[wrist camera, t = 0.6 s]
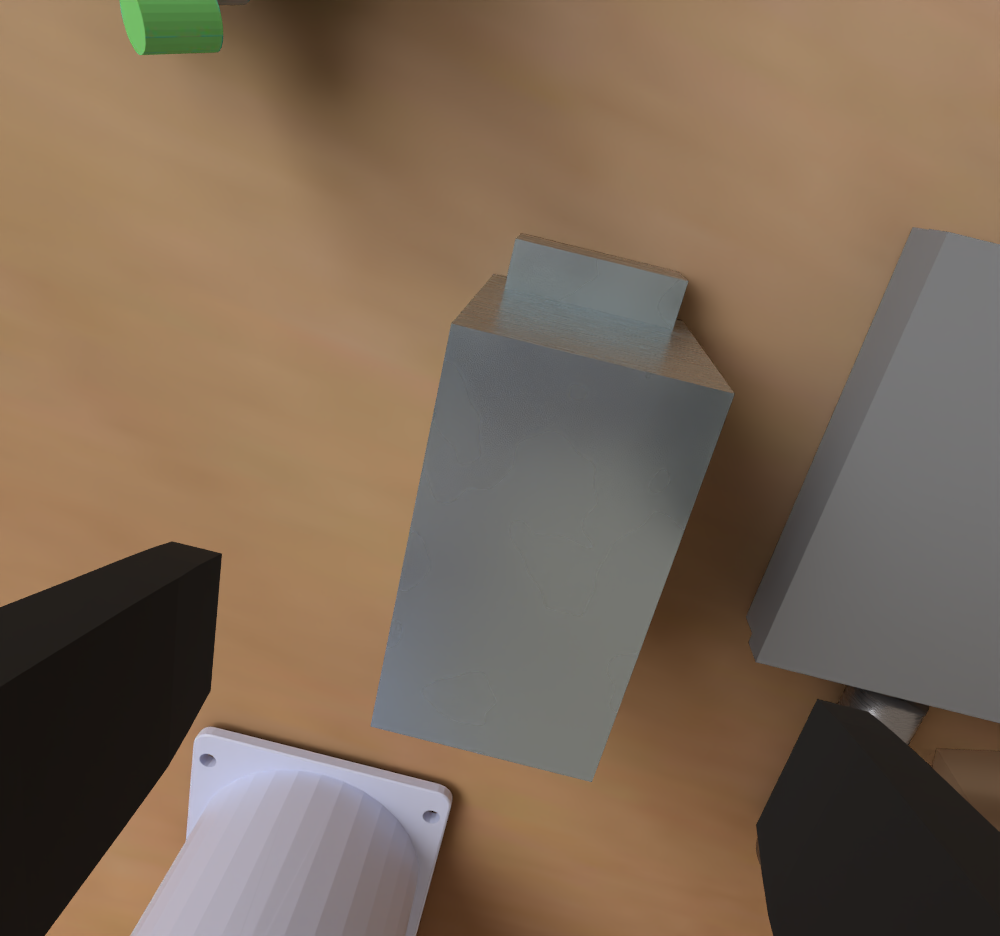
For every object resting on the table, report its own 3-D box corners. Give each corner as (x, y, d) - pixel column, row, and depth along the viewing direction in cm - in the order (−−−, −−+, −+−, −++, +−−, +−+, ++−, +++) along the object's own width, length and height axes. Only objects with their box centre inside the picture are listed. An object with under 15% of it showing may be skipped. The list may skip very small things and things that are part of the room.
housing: (578, 640, 20) (578, 818, 14) (422, 601, 20) (362, 764, 14) (696, 276, 16) (758, 329, 11) (503, 228, 16) (465, 256, 11)
